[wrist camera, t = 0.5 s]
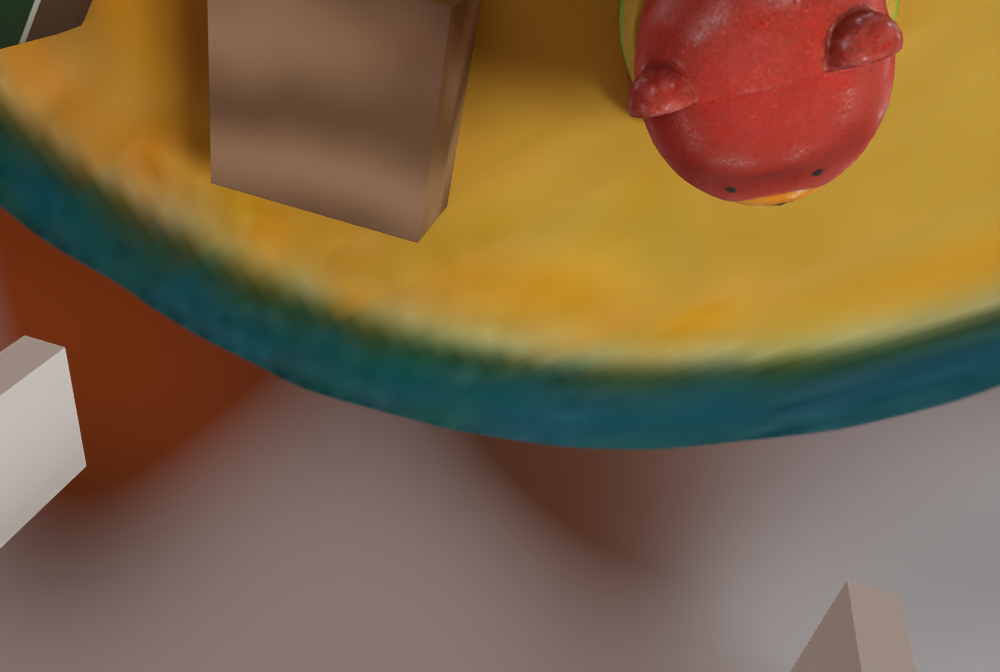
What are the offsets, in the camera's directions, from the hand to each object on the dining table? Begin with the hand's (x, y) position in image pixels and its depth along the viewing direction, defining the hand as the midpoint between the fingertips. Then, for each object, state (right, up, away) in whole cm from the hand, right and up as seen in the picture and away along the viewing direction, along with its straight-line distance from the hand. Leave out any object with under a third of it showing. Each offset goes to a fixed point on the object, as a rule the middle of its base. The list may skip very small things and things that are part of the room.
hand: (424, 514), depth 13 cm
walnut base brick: (-6, +16, +27) cm, 32 cm away
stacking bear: (+12, +18, +21) cm, 30 cm away
